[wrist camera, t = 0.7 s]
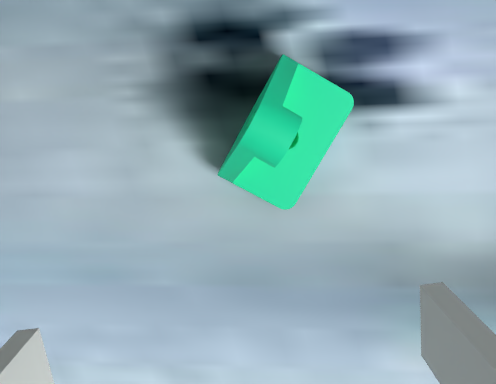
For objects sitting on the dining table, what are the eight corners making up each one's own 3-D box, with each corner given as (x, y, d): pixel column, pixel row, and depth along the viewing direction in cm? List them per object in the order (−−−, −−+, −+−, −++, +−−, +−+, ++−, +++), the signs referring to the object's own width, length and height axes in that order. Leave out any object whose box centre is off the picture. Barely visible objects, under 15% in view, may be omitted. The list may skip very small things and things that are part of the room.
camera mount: (286, 205, 42) (300, 242, 32) (219, 169, 41) (210, 196, 31) (351, 97, 39) (387, 100, 29) (280, 56, 38) (293, 45, 28)
